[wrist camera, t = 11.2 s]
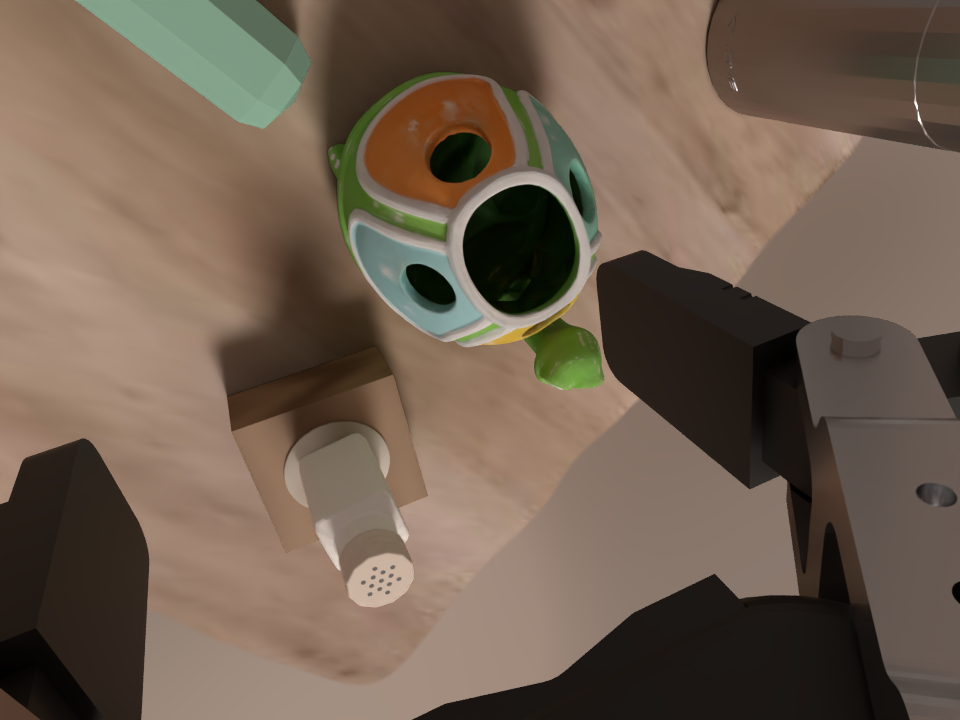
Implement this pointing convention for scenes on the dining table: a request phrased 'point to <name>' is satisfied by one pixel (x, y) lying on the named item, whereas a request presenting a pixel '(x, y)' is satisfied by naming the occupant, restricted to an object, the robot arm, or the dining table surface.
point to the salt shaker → (358, 520)
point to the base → (322, 434)
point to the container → (217, 50)
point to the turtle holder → (473, 218)
